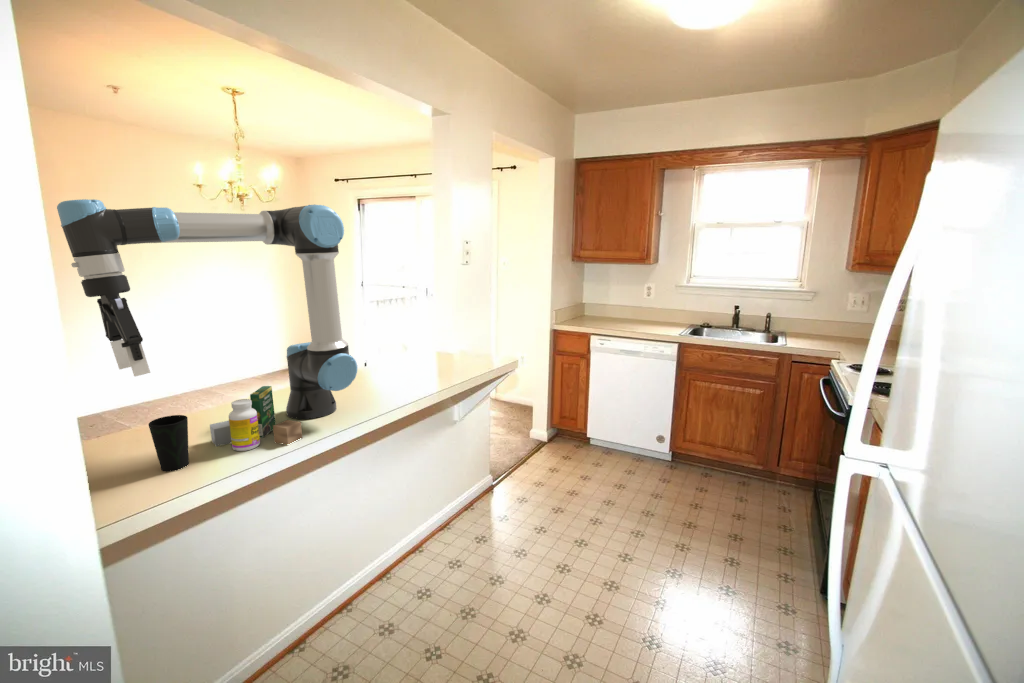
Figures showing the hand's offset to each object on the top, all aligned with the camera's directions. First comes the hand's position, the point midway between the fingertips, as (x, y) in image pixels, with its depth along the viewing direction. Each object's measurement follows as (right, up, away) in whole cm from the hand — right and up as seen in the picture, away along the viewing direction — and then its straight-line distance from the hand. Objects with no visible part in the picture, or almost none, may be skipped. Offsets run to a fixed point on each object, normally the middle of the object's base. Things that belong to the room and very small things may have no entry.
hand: (134, 371), depth 104 cm
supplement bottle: (+12, -22, +22) cm, 34 cm away
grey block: (+4, -21, +26) cm, 34 cm away
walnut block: (+22, -21, +27) cm, 40 cm away
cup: (+1, -24, +11) cm, 27 cm away
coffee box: (+12, -20, +32) cm, 40 cm away
